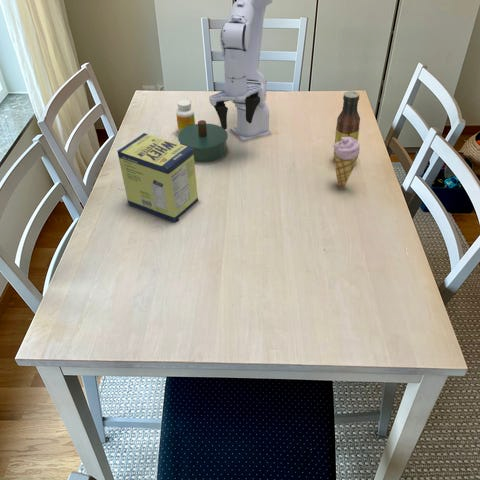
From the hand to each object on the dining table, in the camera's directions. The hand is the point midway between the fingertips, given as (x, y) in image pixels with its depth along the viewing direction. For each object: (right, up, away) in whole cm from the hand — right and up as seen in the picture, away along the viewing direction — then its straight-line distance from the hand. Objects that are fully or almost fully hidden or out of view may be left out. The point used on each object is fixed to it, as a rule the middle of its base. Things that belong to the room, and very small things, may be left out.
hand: (236, 124), depth 137 cm
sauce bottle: (+30, -9, +6) cm, 32 cm away
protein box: (-19, -23, -8) cm, 31 cm away
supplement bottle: (-16, +4, +19) cm, 25 cm away
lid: (-10, -1, +7) cm, 12 cm away
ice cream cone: (+28, -18, -3) cm, 33 cm away
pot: (-10, -4, +10) cm, 15 cm away
